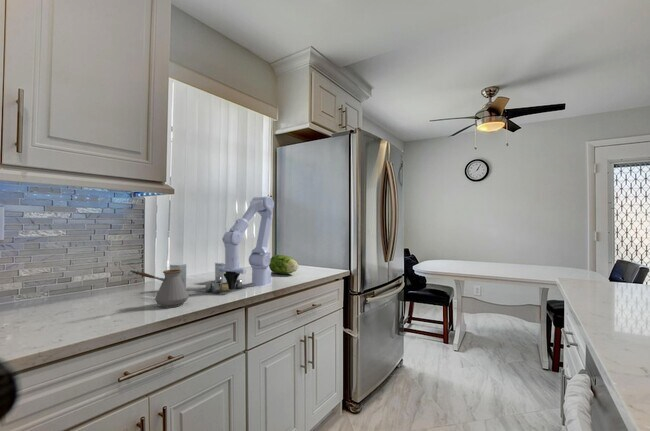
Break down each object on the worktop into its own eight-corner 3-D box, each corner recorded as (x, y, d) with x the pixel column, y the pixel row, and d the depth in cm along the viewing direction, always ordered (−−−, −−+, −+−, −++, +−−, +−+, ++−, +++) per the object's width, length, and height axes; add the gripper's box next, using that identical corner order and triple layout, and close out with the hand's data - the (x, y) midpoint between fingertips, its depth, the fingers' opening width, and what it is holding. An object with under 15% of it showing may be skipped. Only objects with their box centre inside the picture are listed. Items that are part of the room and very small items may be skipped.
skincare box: (169, 290, 143) (169, 264, 143) (176, 288, 147) (176, 263, 147) (179, 291, 141) (179, 265, 141) (186, 290, 145) (186, 264, 145)
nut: (223, 288, 145) (223, 281, 145) (232, 289, 144) (232, 282, 144) (217, 291, 140) (217, 284, 140) (226, 291, 139) (226, 284, 139)
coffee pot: (177, 299, 127) (177, 262, 127) (194, 303, 121) (195, 264, 121) (119, 312, 109) (120, 269, 109) (137, 318, 103) (138, 272, 103)
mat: (217, 285, 154) (217, 284, 154) (246, 289, 146) (246, 288, 146) (192, 292, 140) (192, 290, 140) (222, 296, 132) (222, 294, 132)
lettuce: (289, 277, 177) (289, 257, 177) (265, 273, 190) (265, 255, 191) (303, 274, 186) (303, 255, 186) (279, 271, 199) (280, 253, 200)
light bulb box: (231, 280, 168) (231, 260, 169) (239, 281, 165) (239, 261, 165) (214, 283, 160) (214, 262, 160) (222, 285, 156) (222, 263, 156)
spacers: (218, 284, 153) (218, 276, 153) (244, 287, 146) (244, 279, 146) (193, 290, 140) (193, 281, 140) (221, 294, 133) (221, 285, 133)
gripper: (213, 258, 140) (212, 289, 140) (238, 260, 133) (238, 292, 133) (224, 256, 146) (224, 286, 146) (249, 258, 140) (249, 289, 140)
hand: (231, 288), depth 140 cm, fingers closed
